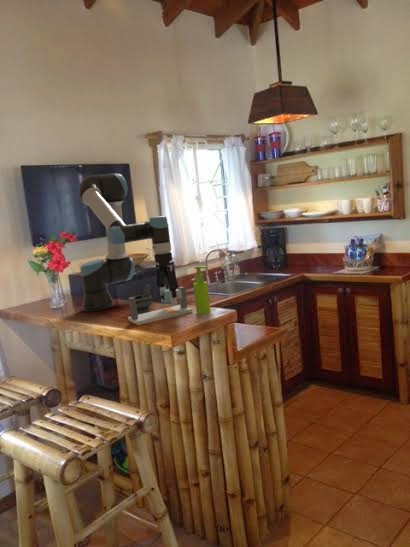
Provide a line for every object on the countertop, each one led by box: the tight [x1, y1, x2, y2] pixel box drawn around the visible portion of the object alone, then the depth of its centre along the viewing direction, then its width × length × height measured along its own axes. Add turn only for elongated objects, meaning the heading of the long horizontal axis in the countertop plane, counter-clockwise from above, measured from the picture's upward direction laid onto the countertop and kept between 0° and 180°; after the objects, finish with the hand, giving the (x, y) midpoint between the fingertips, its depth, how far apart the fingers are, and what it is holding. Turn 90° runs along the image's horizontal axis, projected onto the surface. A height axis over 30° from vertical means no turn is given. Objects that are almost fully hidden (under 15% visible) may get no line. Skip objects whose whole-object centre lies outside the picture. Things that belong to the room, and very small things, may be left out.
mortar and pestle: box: [133, 283, 153, 315], centre depth 228 cm, size 11×9×12 cm
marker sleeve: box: [159, 288, 171, 304], centre depth 217 cm, size 5×5×5 cm
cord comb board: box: [127, 286, 193, 326], centre depth 215 cm, size 12×25×10 cm, turn 118°
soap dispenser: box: [192, 265, 212, 315], centre depth 211 cm, size 6×7×20 cm
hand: (169, 303), depth 217 cm, fingers open, 10 cm apart
